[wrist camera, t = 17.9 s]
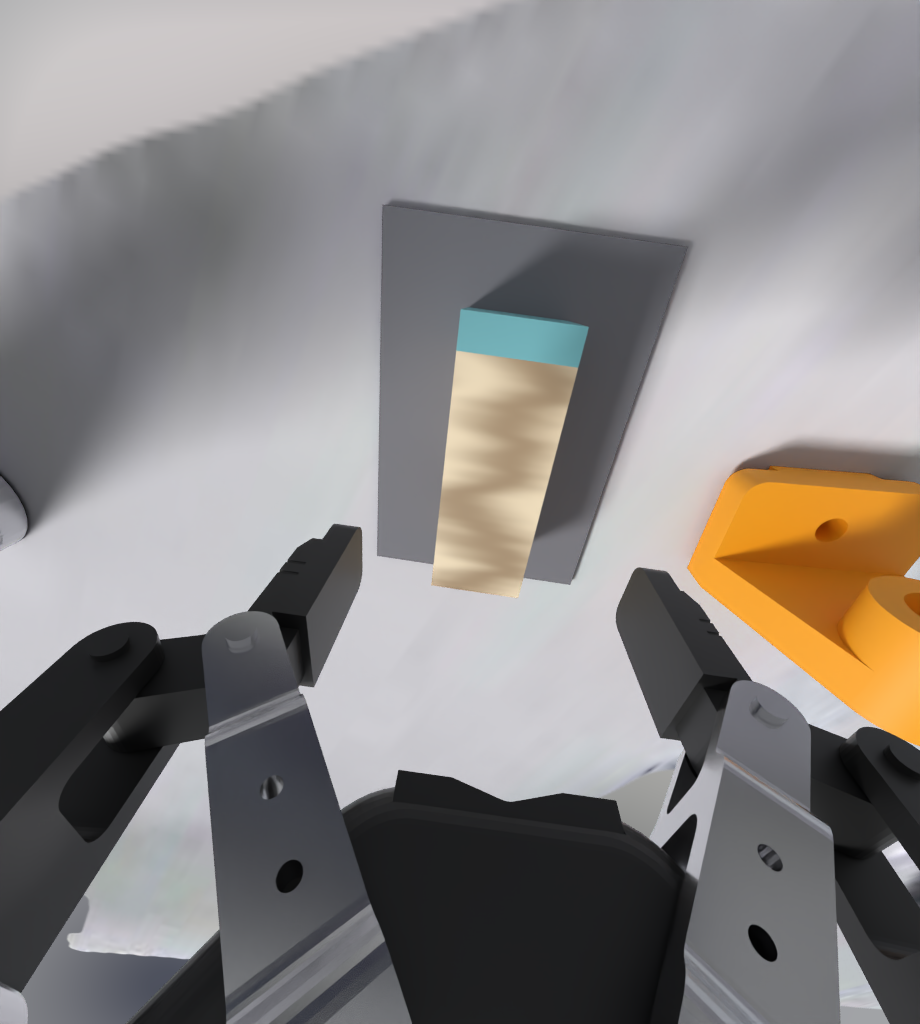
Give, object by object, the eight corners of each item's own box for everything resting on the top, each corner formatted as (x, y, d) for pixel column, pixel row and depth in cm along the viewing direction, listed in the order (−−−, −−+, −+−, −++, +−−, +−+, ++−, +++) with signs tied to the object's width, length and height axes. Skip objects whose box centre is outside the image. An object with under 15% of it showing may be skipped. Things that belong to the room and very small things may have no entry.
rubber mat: (569, 581, 27) (570, 584, 27) (378, 552, 27) (377, 555, 27) (683, 247, 17) (687, 246, 17) (384, 206, 18) (382, 204, 17)
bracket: (915, 477, 22) (1304, 640, 11) (845, 575, 25) (1091, 769, 15) (724, 461, 22) (927, 604, 12) (681, 560, 26) (808, 737, 15)
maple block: (431, 585, 22) (460, 309, 15) (442, 537, 26) (468, 307, 19) (518, 598, 21) (588, 326, 15) (514, 548, 26) (567, 320, 19)
